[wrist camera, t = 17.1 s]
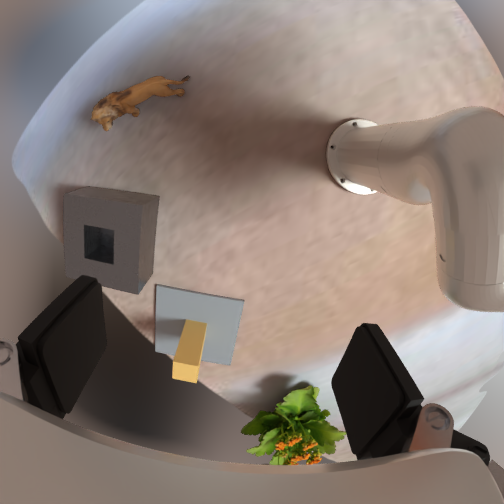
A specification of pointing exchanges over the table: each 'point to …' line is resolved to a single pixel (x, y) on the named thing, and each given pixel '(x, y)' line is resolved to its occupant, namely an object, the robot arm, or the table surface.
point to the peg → (189, 351)
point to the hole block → (110, 236)
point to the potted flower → (294, 430)
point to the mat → (202, 310)
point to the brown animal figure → (132, 99)
